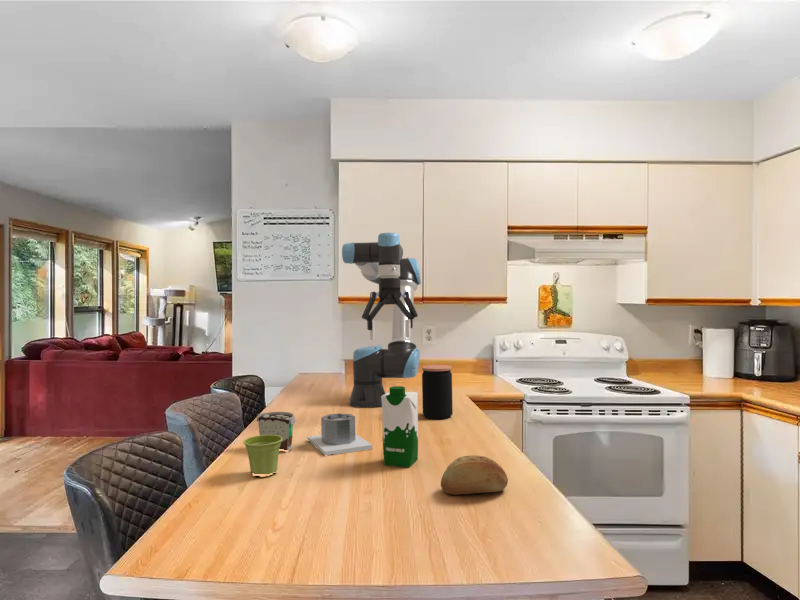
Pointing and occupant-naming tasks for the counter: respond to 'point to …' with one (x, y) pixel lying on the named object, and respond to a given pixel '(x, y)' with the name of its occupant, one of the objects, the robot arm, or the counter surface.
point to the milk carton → (400, 427)
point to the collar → (338, 429)
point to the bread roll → (473, 476)
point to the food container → (277, 426)
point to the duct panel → (337, 449)
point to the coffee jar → (437, 392)
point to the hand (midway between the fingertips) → (390, 338)
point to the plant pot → (263, 453)
